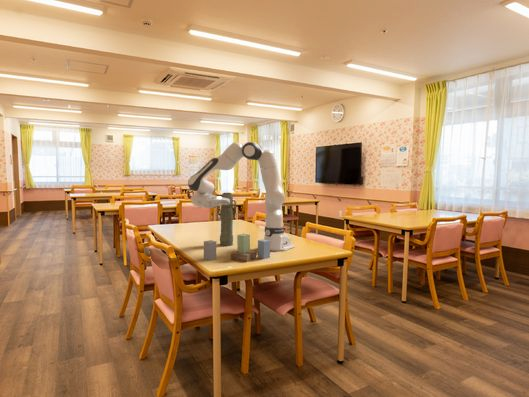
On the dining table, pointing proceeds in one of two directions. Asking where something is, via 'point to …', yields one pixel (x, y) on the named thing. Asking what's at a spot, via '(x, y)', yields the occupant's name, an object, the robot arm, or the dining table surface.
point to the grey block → (210, 250)
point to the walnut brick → (243, 256)
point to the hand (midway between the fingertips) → (223, 203)
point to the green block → (243, 243)
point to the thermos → (227, 221)
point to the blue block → (263, 249)
